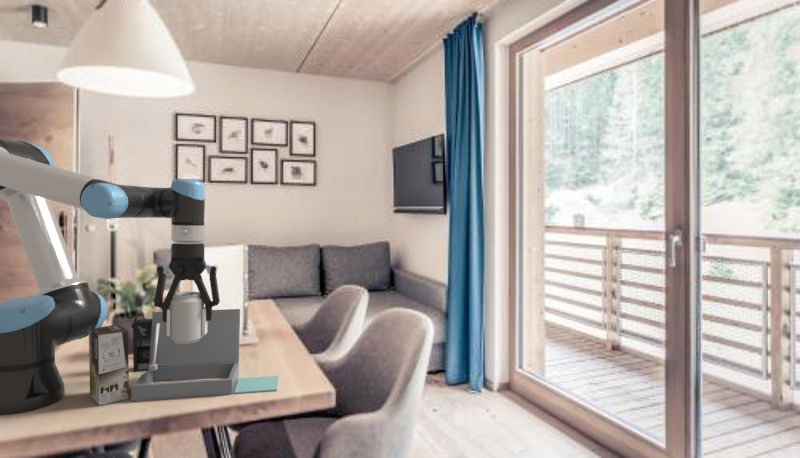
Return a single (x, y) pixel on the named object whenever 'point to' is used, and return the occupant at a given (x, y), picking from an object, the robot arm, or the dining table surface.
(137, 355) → the geiger counter
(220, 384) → the case
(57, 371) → the robot arm
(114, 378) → the coffee box
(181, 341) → the can
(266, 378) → the pad
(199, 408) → the dining table surface
